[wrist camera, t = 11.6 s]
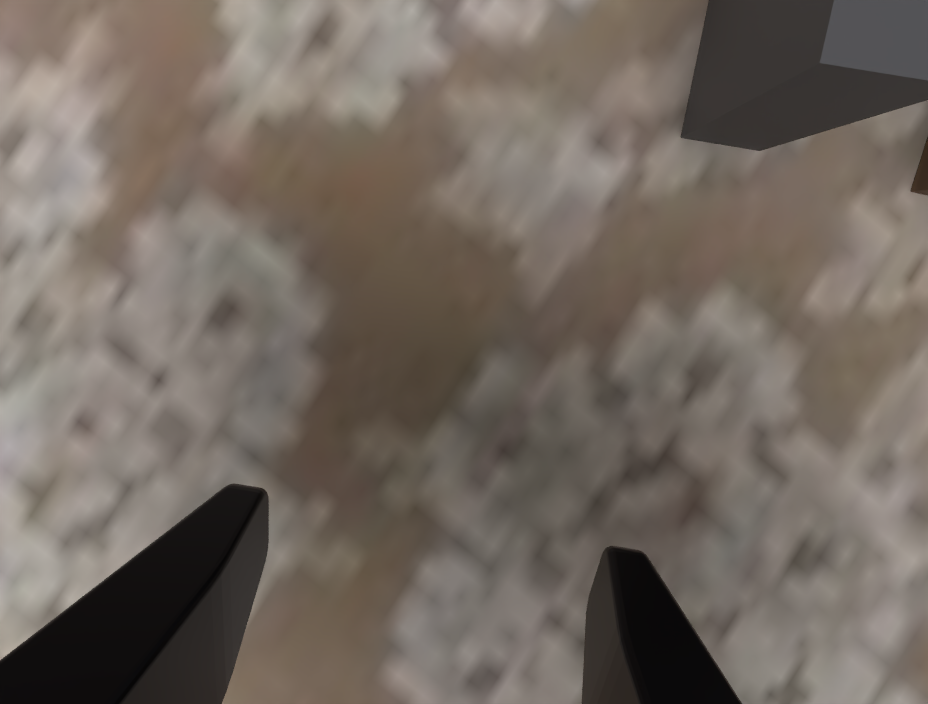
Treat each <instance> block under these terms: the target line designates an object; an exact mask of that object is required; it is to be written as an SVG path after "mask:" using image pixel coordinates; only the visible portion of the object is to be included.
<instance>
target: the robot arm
mask: <svg viewBox="0 0 928 704" xmlns="http://www.w3.org/2000/svg"><path fill="white" fill-rule="evenodd" d="M268 541H269V499H268V494H267V492H266V491H265V490H264V489H262V488H258V487H252V486H246V485H240V484H230V485H228V486H226V487H224V488H223V489H221V490H220V491H219V492H218V493H216V494H215V495H214V496H212V497H211V498H210V499H208V500H207V501H206V502H205V503H203V504H202V505H201V506H199V507H198V508H197V509H196V510H194V511H193V512H192V513H190V514H189V515H188V516H186V517H185V518H184V519H183V520H181V521H180V522H179V523H177V524H176V525H175V526H174V527H172V528H171V529H170V530H168V531H167V532H166V533H164V534H163V535H162V536H161V537H159V538H158V539H157V540H155V541H154V542H153V543H152V544H150V545H149V546H148V547H146V548H145V549H144V550H142V551H141V552H140V553H139V554H137V555H136V556H135V557H133V558H132V559H131V560H129V561H128V562H127V563H126V564H124V565H123V566H122V567H120V568H119V569H118V570H117V571H115V572H114V573H113V574H111V575H110V576H109V577H107V578H106V579H105V580H104V581H102V582H101V583H100V584H98V585H97V586H96V587H95V588H93V589H92V590H91V591H89V592H88V593H87V594H85V595H84V596H83V597H82V598H80V599H79V600H78V601H76V602H75V603H74V604H73V605H71V606H70V607H69V608H67V609H66V610H65V611H63V612H62V613H61V614H60V615H58V616H57V617H56V618H54V619H53V620H52V621H51V622H49V623H48V624H47V625H45V626H44V627H43V628H41V629H40V630H39V631H38V632H36V633H35V634H34V635H32V636H31V637H30V638H28V639H27V640H26V641H25V642H23V643H22V644H21V645H19V646H18V647H17V648H16V649H14V650H13V651H12V652H10V653H9V654H8V655H6V656H5V657H4V658H3V659H1V660H0V704H222V701H223V699H224V696H225V694H226V691H227V688H228V685H229V681H230V678H231V675H232V672H233V669H234V666H235V663H236V659H237V656H238V652H239V649H240V646H241V642H242V639H243V636H244V632H245V629H246V625H247V622H248V619H249V615H250V612H251V609H252V605H253V602H254V598H255V595H256V592H257V588H258V585H259V581H260V578H261V575H262V571H263V568H264V564H265V561H266V556H267V551H268ZM582 704H742V703H741V701H740V700H739V698H738V697H737V695H736V693H735V692H734V690H733V689H732V687H731V686H730V684H729V683H728V681H727V679H726V678H725V676H724V675H723V673H722V672H721V670H720V669H719V667H718V665H717V664H716V662H715V661H714V659H713V658H712V656H711V655H710V653H709V652H708V650H707V648H706V647H705V645H704V644H703V642H702V641H701V639H700V638H699V636H698V634H697V633H696V631H695V630H694V628H693V627H692V625H691V624H690V622H689V620H688V619H687V617H686V616H685V614H684V613H683V611H682V610H681V608H680V606H679V605H678V603H677V602H676V600H675V599H674V597H673V596H672V594H671V592H670V591H669V589H668V588H667V586H666V585H665V583H664V582H663V580H662V578H661V577H660V575H659V574H658V572H657V571H656V569H655V568H654V566H653V564H652V563H651V561H650V560H649V558H648V557H647V555H646V554H644V553H643V552H642V551H639V550H635V549H629V548H623V547H617V546H609V547H607V548H606V549H605V550H604V551H603V553H602V556H601V559H600V563H599V566H598V569H597V572H596V575H595V578H594V582H593V585H592V588H591V591H590V594H589V599H588V604H587V611H586V626H585V647H584V668H583V689H582Z"/></svg>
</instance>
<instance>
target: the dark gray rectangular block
mask: <svg viewBox="0 0 928 704" xmlns="http://www.w3.org/2000/svg"><path fill="white" fill-rule="evenodd" d="M925 100H928V0H709V3H708V8H707V13H706V17H705V22H704V27H703V32H702V37H701V42H700V47H699V51H698V56H697V61H696V66H695V71H694V76H693V80H692V85H691V90H690V95H689V100H688V105H687V110H686V114H685V119H684V124H683V129H682V134H681V138H686V139H692V140H698V141H704V142H710V143H716V144H722V145H728V146H734V147H740V148H746V149H752V150H758V151H761V150H764V149H767V148H771V147H774V146H777V145H781V144H784V143H787V142H790V141H794V140H797V139H800V138H804V137H807V136H810V135H814V134H817V133H820V132H823V131H827V130H830V129H833V128H837V127H840V126H843V125H846V124H850V123H853V122H856V121H860V120H863V119H866V118H870V117H873V116H876V115H879V114H883V113H886V112H889V111H893V110H896V109H899V108H902V107H906V106H909V105H912V104H916V103H919V102H922V101H925Z"/></svg>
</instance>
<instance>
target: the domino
mask: <svg viewBox="0 0 928 704" xmlns="http://www.w3.org/2000/svg"><path fill="white" fill-rule="evenodd" d="M911 192H916V193H920V194H924V195H928V138H927V141H926V145H925V148H924V151H923V154H922V157H921V160H920V163H919V167H918V170H917V173H916V176H915V179H914V182H913V185H912V188H911Z"/></svg>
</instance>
